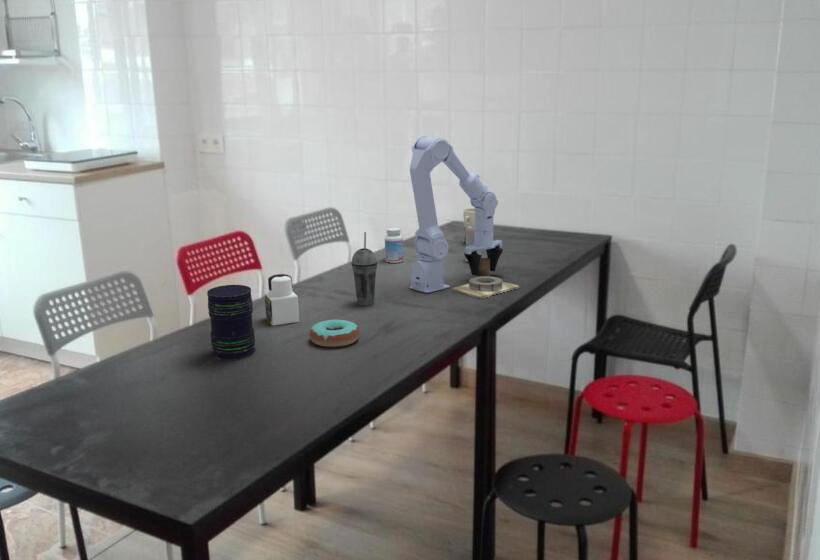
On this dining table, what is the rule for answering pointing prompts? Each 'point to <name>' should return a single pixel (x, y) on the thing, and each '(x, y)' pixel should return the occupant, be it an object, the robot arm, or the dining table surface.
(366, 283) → the beverage cup
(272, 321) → the white handled container
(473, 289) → the socket board
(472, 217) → the character mug
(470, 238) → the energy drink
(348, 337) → the donut
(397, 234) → the pill bottle
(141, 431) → the dining table surface
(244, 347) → the storage jar
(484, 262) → the walnut peg
